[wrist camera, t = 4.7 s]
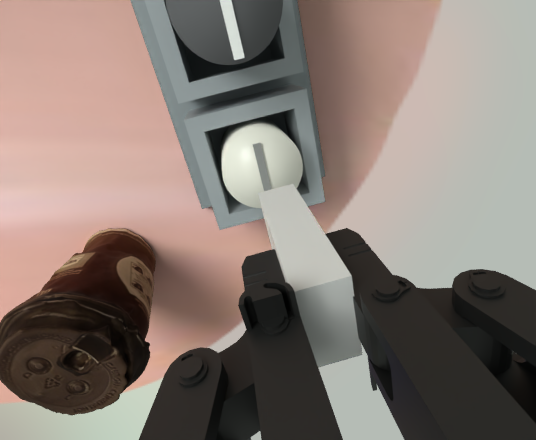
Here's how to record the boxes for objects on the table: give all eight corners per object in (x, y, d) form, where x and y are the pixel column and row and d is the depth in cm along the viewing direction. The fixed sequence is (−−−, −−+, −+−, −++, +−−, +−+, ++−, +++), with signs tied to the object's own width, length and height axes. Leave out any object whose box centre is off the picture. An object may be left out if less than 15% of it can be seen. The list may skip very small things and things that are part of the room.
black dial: (165, -24, 19) (145, -59, 14) (254, -46, 20) (269, -88, 14) (194, 73, 22) (187, 77, 16) (273, 53, 22) (293, 50, 16)
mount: (58, -217, 19) (-3, -325, 14) (252, -261, 19) (265, -382, 14) (202, 205, 30) (199, 235, 25) (322, 173, 30) (344, 196, 25)
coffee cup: (165, 213, 30) (132, 310, 18) (176, 291, 33) (155, 414, 22) (59, 220, 29) (-48, 327, 17) (82, 299, 32) (6, 434, 21)
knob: (212, 125, 26) (211, 141, 21) (278, 108, 26) (294, 120, 21) (230, 187, 28) (234, 217, 23) (291, 171, 28) (309, 197, 23)
